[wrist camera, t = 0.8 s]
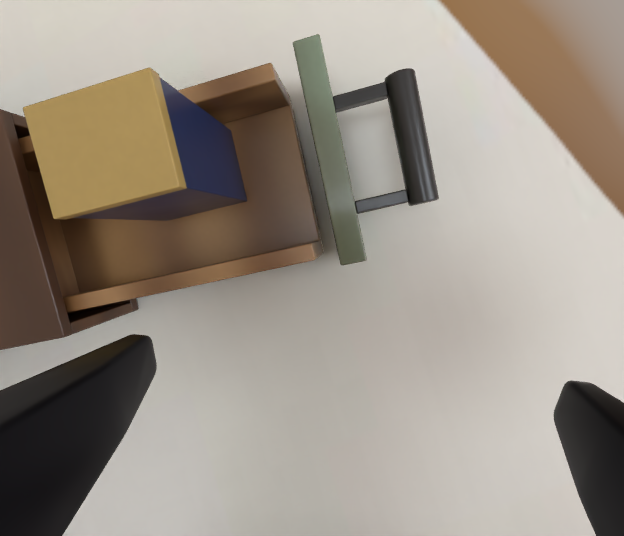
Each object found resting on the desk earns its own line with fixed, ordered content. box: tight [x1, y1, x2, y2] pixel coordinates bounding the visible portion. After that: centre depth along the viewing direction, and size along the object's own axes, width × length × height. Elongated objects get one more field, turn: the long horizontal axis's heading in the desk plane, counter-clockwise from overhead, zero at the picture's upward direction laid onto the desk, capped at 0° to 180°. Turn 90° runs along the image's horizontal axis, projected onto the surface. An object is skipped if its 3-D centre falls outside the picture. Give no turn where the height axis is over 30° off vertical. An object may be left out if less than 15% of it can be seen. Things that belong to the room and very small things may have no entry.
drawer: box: [18, 34, 439, 313], centre depth 19 cm, size 22×10×5 cm, turn 103°
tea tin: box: [23, 68, 247, 221], centre depth 17 cm, size 4×5×8 cm
